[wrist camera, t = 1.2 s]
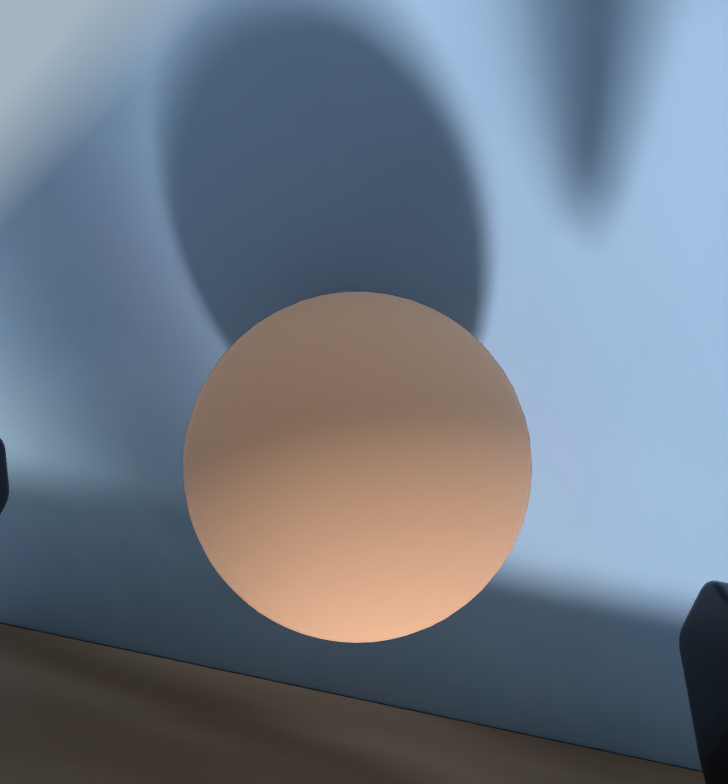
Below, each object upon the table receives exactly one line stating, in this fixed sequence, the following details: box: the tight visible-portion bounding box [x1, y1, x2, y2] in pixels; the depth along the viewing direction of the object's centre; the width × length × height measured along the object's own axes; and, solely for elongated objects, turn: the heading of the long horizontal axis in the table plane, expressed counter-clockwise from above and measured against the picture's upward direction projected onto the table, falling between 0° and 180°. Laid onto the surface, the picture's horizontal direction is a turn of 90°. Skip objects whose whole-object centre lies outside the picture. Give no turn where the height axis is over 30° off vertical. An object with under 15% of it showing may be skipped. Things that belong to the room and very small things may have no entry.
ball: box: [183, 292, 532, 643], centre depth 10 cm, size 5×5×5 cm
